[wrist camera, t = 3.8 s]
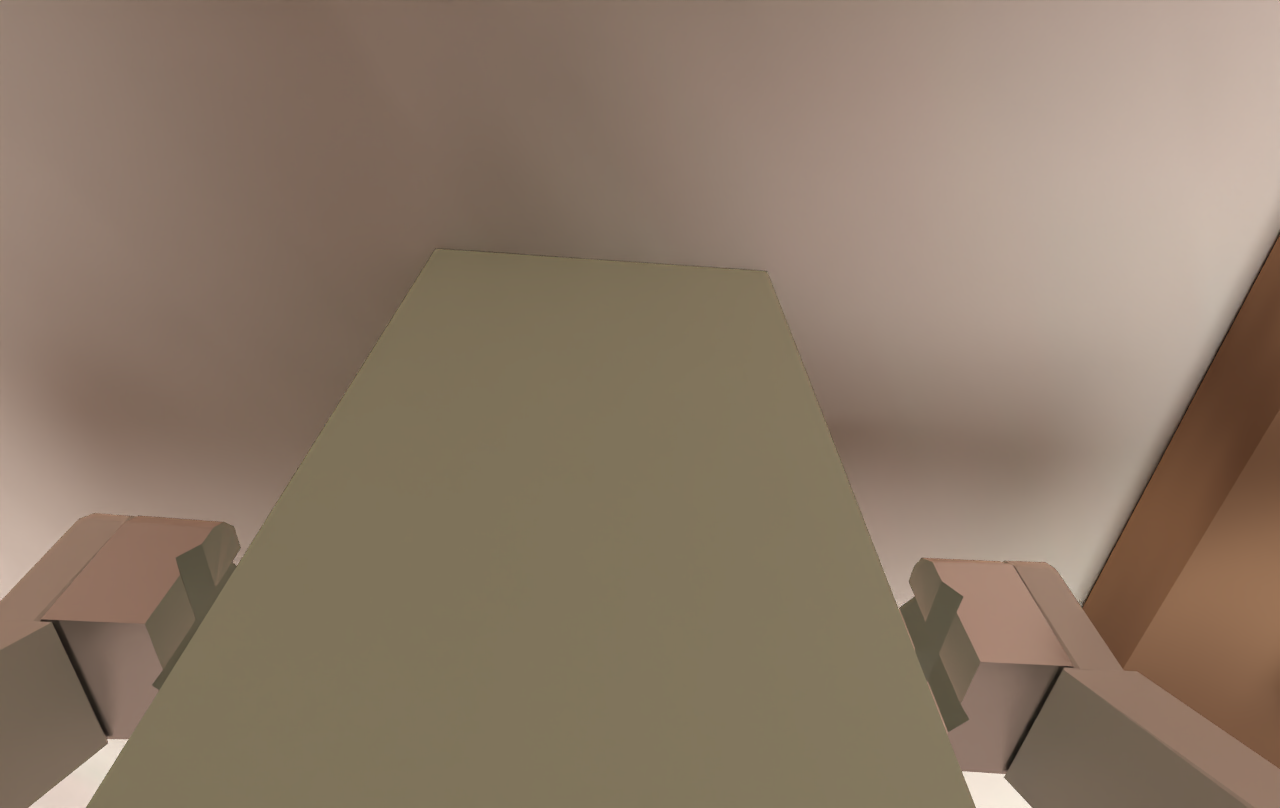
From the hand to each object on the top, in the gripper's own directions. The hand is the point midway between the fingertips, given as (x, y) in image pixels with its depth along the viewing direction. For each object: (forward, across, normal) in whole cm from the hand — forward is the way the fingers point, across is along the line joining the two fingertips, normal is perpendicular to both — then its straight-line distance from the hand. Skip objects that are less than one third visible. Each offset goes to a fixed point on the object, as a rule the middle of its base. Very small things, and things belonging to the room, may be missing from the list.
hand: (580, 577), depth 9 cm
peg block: (+4, 0, 0) cm, 4 cm away
